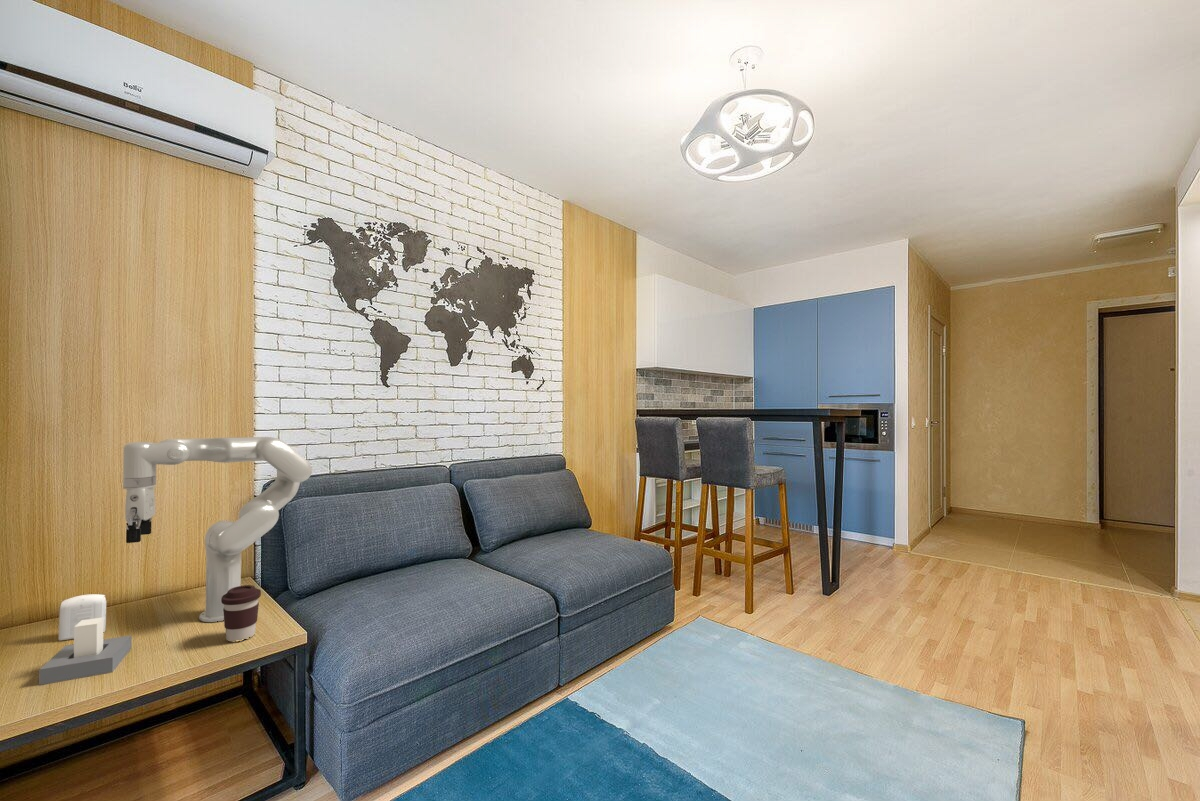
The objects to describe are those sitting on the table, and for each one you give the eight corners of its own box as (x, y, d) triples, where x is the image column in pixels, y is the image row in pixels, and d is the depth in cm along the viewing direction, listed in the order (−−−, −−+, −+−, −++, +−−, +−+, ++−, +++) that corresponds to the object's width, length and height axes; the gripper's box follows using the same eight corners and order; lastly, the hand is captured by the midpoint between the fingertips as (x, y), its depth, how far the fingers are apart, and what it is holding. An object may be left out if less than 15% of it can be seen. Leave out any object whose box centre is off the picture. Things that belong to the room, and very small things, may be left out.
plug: (103, 660, 141) (103, 617, 141) (96, 667, 137) (96, 623, 137) (80, 663, 139) (81, 620, 139) (73, 671, 135) (74, 626, 135)
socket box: (131, 648, 147) (131, 635, 147) (112, 672, 135) (112, 657, 135) (65, 659, 141) (65, 645, 141) (39, 685, 128) (39, 669, 128)
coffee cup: (254, 627, 162) (254, 580, 162) (264, 636, 156) (265, 588, 156) (216, 638, 154) (217, 589, 154) (226, 648, 148) (227, 597, 148)
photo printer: (107, 629, 159) (108, 590, 159) (103, 634, 156) (104, 594, 156) (61, 637, 154) (61, 596, 154) (56, 642, 150) (56, 601, 150)
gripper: (146, 486, 149) (145, 544, 149) (164, 477, 164) (163, 530, 164) (112, 488, 145) (111, 547, 145) (133, 479, 160) (133, 532, 160)
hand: (139, 538), depth 154 cm, fingers open, 9 cm apart
